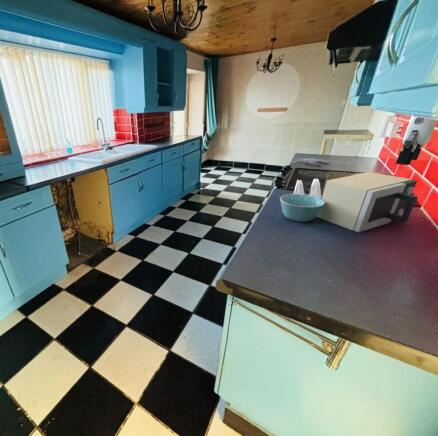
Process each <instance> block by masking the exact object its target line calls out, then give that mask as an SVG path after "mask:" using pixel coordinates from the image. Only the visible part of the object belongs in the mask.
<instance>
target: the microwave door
mask: <svg viewBox="0 0 438 436" xmlns="http://www.w3.org/2000/svg"><path fill="white" fill-rule="evenodd" d="M405 186H406V184H404V183H398V184H394V185H390V186H386V187H382V188H377V189H373V190H369V191H368V192H367V195H366V198H365V200H364V203H363V206H362V209H361V212H360V214H359V217H358V220H357V223H356V226H355V228H354V230H353V231H354V232H356V233H361V232H364V231H367V230H371V229H374V228H377V227H380V226H384V225H386V224H390V223H391V222H392V221H391V219H392V220H394V221H395V222H398V223H402V224H406V223H407V222H408V221H409V219H410V218H409V217H410V216H411V214H412V212H413V209H414V207H415V205H416V203H417V200H418V199H419V196H418V195H413V194H411V195H410V194H405V193H403V190H404V188H405ZM400 199H403V200H407V201H408V203H407V205H406V208H405V210H404V212H403V215H402V216H401V215H397V214H394V212H395V209H396V207H397V205H398V202H399V200H400ZM390 221H391V222H390Z"/></svg>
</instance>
